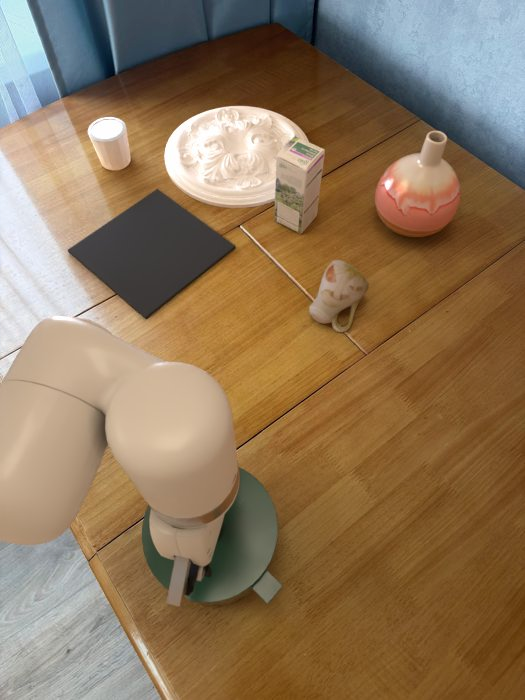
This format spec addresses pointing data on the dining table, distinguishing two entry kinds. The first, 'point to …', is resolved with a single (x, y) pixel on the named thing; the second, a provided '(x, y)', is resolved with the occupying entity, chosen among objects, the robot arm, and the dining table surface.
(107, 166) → the white lidded cup
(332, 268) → the mug
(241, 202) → the ceiling medallion
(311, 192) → the syrup box
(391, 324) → the dining table surface
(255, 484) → the lid
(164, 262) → the mat
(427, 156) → the vase
